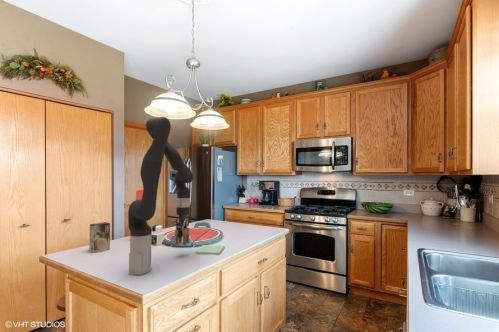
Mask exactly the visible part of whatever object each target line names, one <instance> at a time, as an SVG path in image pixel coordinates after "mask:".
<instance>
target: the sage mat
mask: <svg viewBox="0 0 499 332" xmlns="http://www.w3.org/2000/svg"><path fill="white" fill-rule="evenodd" d="M225 248H226V247H225V245H212V244H209V245H208V244H202V245H201V246H200V247H199V248H198V249H197V250H196V251H195V254H194V255H208V254H215V255H216V256H219V254H220V255H221V253H222V252H223V251H222V250H225ZM215 255H214V256H215Z"/></svg>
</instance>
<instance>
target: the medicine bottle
mask: <svg viewBox="0 0 499 332" xmlns="http://www.w3.org/2000/svg"><path fill="white" fill-rule="evenodd" d="M151 229H152V237H151V246H154V247H155V246H156V247H157V246H160V245H163V244H162V242H163V240H164V239H165V240H166V232H164V231H163V225H161V224H155V225H153V226H152V227H151Z"/></svg>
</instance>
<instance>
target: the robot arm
mask: <svg viewBox="0 0 499 332" xmlns="http://www.w3.org/2000/svg"><path fill="white" fill-rule="evenodd" d="M171 126H172V125H171V122H170V119H169V118H167V117H166V116H158V117H153V118H150V119H148V120H147V121H146V123H145V129H146V131H147V134H149V136H150V137H151V138H152V143H151V145H150V147H149V148H148V149H147V151H146V152H145V154H144V156H143V158H142V162H141V167H140V171H139V172H140V179H141V183H142V188H143V189H142V190H143V195H142V200H136V199H135V200H134V201H132V202H131V203H130V204H129V205H128V206H129V207H128V211H127V216H128V217H127V218H128V219H127V221H128V222H127V223H128V229H129V231H130V236H129V237H130V238H129V240H130V241H129V244H130V245H129V254H128V256H129V257H128V275H130V276H131V275H133V276H134V275H135V276H142V275H145V274H148V273H149V272H151V270H152V245H151V237H152V233H153V232H152V227H151V226H150V224H149V223H148V224H147V222H146V221H148V222H149V221H150V220H151V219H152V218H154V215H155V213H156V210H157V209H156V208H157V199H158V198H157V197H158V189H159V182H160V177H161V173H162V167H163V161H164V160H163V159H164V156H165V157H166V160H167V161H168V163H169V165H170V166H171V168H172V170H173V171H176V173H175V174H174V183H175V187H176V190H177V193H176V203H175V204H176V205H175V206H176V207H175V208H176V209H175V210H176V211H175V214H176V215H177V216H178V219H175V230H178V237H179V238H182V239H183V236H182V230H183V228H188V227H189V226H190V225H189V224H190V214H191V198H190V197H191V189H190V188H189V187H187V186H186V184H190V183H192V181H193V180H194V174H193V172H192V170H191V169H190V168H189V167H188V166H187V164H186V163H185V162H184V159H183V157H182V156H181V154H180V153H179V151H178V150H177V149H176V148H175V147H174V146H173V145H172V144H171V143H170V142H169V136H170V134H171V133H170V132H171V129H172V127H171Z"/></svg>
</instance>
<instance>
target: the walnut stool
mask: <svg viewBox="0 0 499 332" xmlns="http://www.w3.org/2000/svg"><path fill="white" fill-rule="evenodd" d="M190 230H191V229H190V228H188V227H187V228H183V230H182V238H179V237H178V230H176V229H175V232H174V233H175V234H174V235H175V242H174V244H175V245H176V246H177V245H179V243H182V245H183V246H186V245H187V244H189V243H190Z"/></svg>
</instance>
